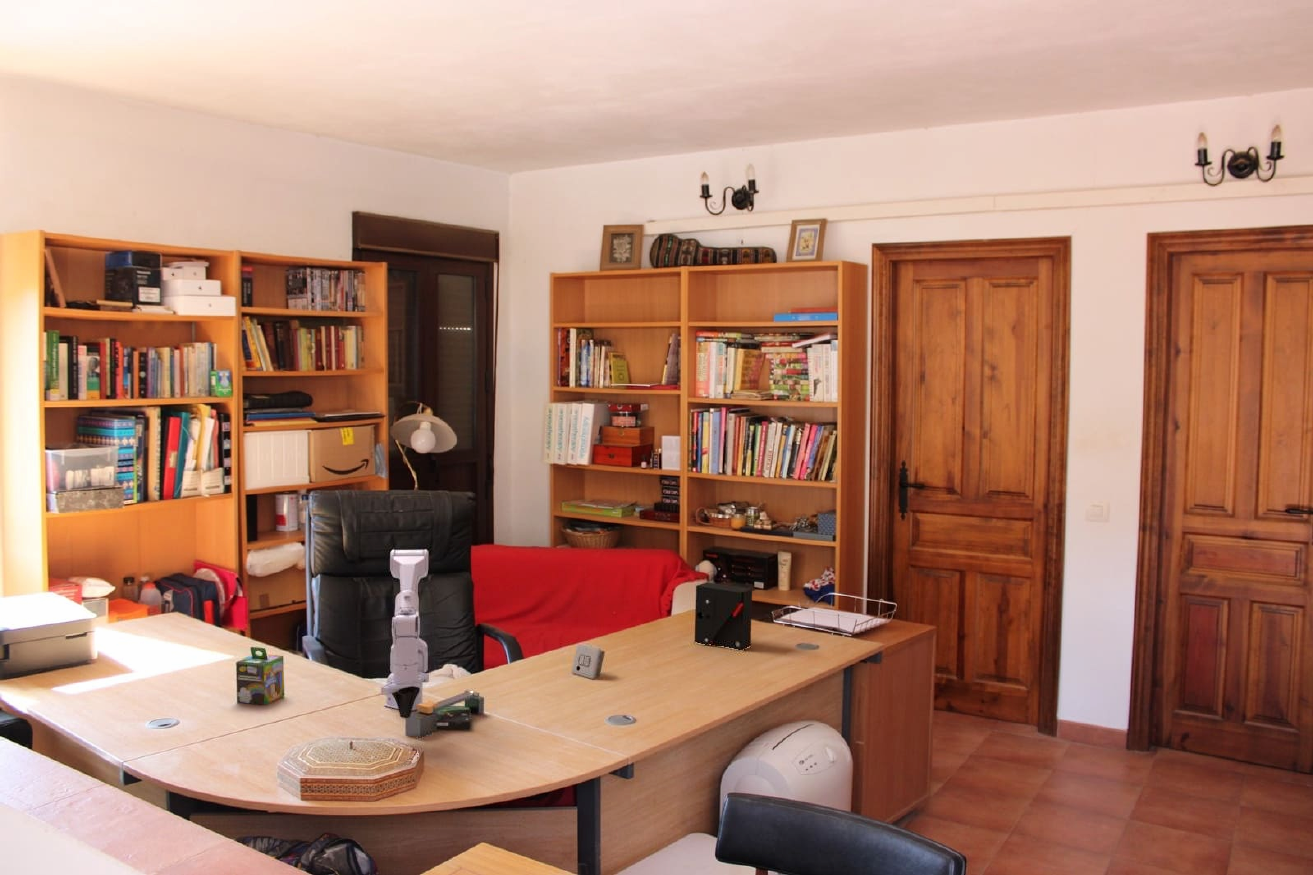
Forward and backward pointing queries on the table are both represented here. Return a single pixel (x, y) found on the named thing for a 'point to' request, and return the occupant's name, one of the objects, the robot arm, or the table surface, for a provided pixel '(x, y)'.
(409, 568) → the robot arm
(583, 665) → the electrical switch
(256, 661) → the chalk box
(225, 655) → the table surface
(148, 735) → the table surface
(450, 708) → the disk drive
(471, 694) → the grey flat bar
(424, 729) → the shiny metal block
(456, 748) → the table surface
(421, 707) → the orange stepped block
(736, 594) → the electrical component
